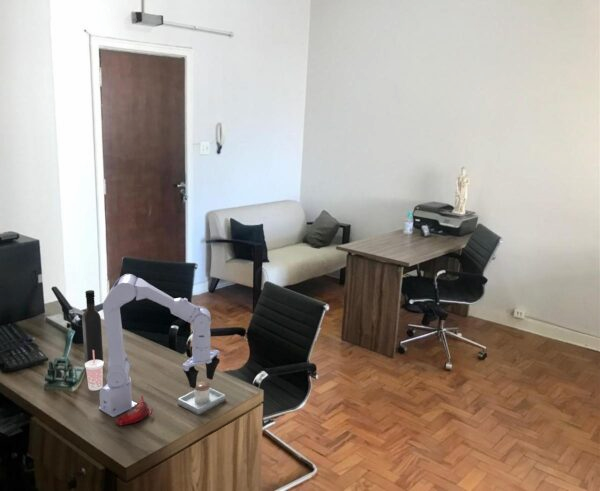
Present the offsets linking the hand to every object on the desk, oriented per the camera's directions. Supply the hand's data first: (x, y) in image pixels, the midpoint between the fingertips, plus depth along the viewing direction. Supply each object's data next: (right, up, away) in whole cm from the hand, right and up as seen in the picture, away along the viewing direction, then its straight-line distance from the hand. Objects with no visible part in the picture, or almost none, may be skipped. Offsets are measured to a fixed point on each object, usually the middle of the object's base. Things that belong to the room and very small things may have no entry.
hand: (201, 382), depth 181 cm
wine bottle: (-44, 0, +22) cm, 49 cm away
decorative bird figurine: (-14, -7, -7) cm, 17 cm away
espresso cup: (0, -6, +2) cm, 6 cm away
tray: (0, -7, +2) cm, 7 cm away
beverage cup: (-38, -4, +9) cm, 40 cm away
